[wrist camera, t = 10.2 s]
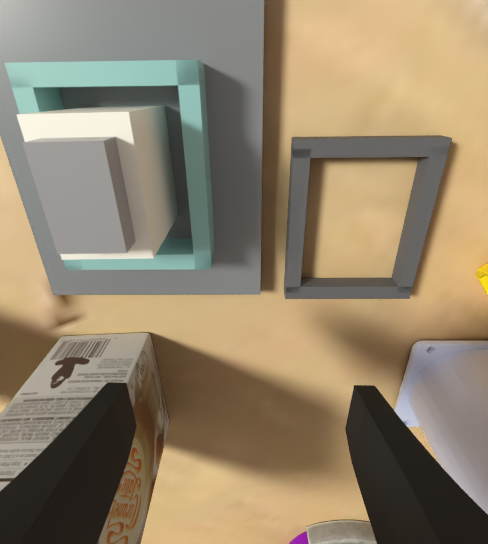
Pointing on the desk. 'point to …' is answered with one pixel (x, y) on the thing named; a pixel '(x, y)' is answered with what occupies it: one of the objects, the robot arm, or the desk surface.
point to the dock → (180, 120)
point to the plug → (103, 179)
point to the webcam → (337, 533)
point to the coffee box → (74, 397)
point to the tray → (415, 225)
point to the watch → (483, 277)
